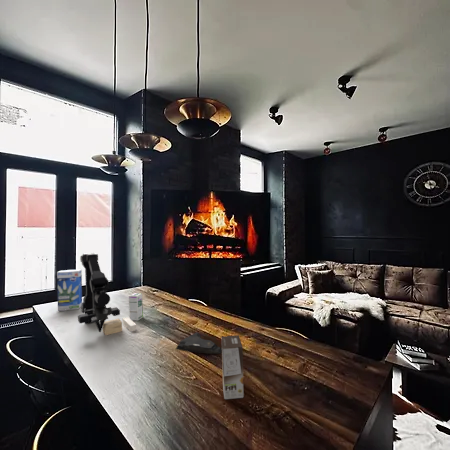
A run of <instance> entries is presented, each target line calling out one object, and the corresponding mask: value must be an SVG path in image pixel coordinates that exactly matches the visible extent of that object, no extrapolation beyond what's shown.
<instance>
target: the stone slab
mask: <svg viewBox="0 0 450 450" xmlns="http://www.w3.org/2000/svg"><path fill="white" fill-rule="evenodd" d="M175 349H176V350H180V351H186V352H191V353H197V354H212V355H213V354H214V355H215V354H218V355H219V354H220V355H221V354H222V347H220V346H218V345H217V344H216V343H215V342H213V341H212V340H210V339H204V338H202V336H201V334H200V333H199V332H198V331H197V332H195V333H193V334H191V335H189V336H188V337H185V338H184V339H181V341H180V342H179V344H177V346H176V348H175Z"/></svg>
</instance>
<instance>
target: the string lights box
mask: <svg viewBox="0 0 450 450" xmlns="http://www.w3.org/2000/svg"><path fill="white" fill-rule="evenodd" d="M82 271H83V270H82V269H67V270H66V269H65V270H63V269H62V270H59V271H57V272H56V276H57V277H56V279H57V280H56V281H57V287H56V288H57V292H56V293H57V311H72V310H73V311H74V310H81V306H82V302H83V287H82V286H83V283H82V282H83V281H82V280H83V277H82V276H83V274H82V273H83V272H82Z"/></svg>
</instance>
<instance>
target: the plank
mask: <svg viewBox="0 0 450 450" xmlns="http://www.w3.org/2000/svg"><path fill="white" fill-rule="evenodd" d="M122 326H124V327H126V329H127V330H128V331H129V332H131V333H132V332H135V331H137V324H136V323H135V322H134V320H131V319H130V318H129V316H127V317H123V318H122Z"/></svg>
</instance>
